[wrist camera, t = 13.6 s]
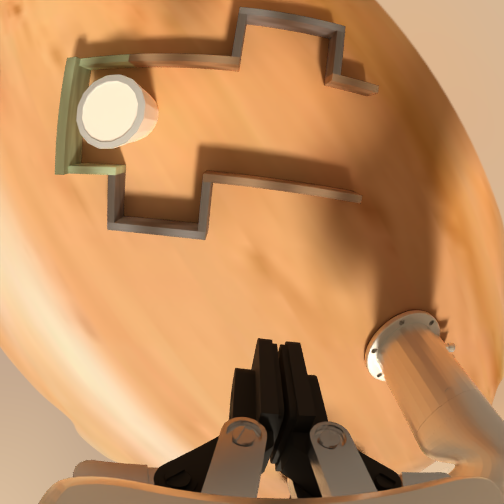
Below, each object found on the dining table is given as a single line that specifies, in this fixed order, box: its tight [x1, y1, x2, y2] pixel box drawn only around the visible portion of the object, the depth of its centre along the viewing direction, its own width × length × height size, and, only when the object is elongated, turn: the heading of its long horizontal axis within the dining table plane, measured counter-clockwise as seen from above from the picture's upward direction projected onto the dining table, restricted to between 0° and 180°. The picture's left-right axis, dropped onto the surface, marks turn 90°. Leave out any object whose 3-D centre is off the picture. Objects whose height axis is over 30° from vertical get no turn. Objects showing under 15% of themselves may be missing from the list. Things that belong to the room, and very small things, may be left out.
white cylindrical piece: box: [76, 74, 159, 149], centre depth 26 cm, size 7×7×7 cm
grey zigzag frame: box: [55, 7, 379, 240], centre depth 28 cm, size 32×24×4 cm
